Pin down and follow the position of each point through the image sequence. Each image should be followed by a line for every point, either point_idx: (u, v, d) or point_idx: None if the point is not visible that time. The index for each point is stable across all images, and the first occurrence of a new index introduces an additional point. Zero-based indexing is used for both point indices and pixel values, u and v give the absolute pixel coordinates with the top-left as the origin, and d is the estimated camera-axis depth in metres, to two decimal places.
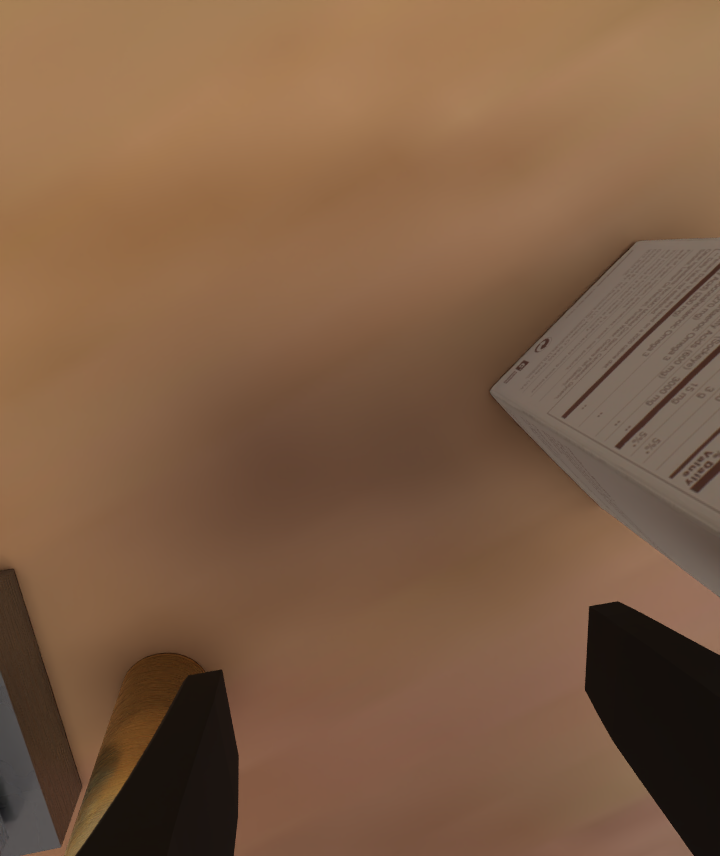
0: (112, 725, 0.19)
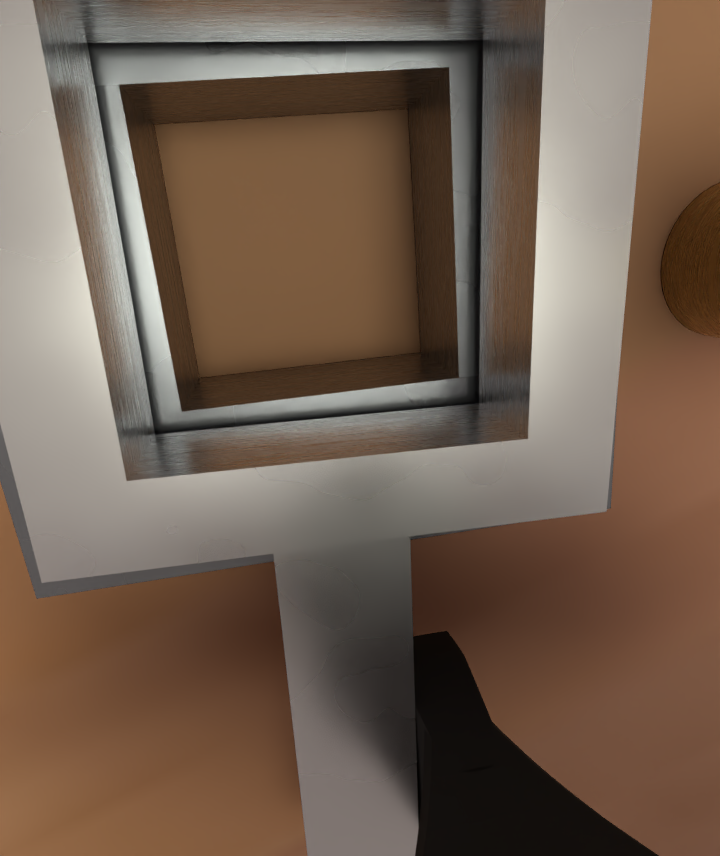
0: None
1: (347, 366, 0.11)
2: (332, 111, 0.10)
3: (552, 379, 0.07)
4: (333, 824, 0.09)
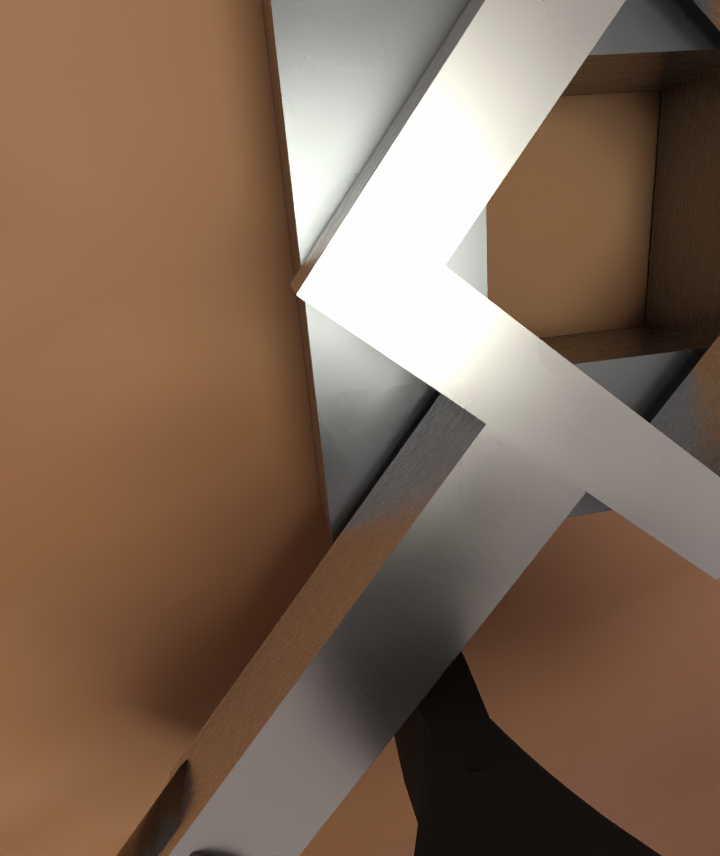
0: None
1: (588, 338, 0.11)
2: (597, 91, 0.10)
3: None
4: (304, 720, 0.08)
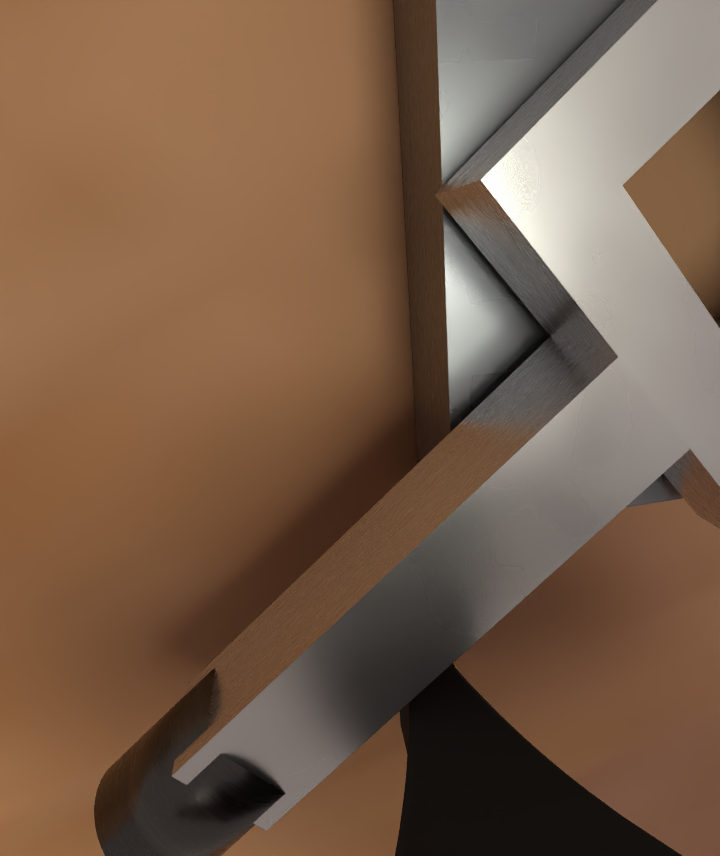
0: None
1: None
2: None
3: None
4: (368, 631, 0.08)
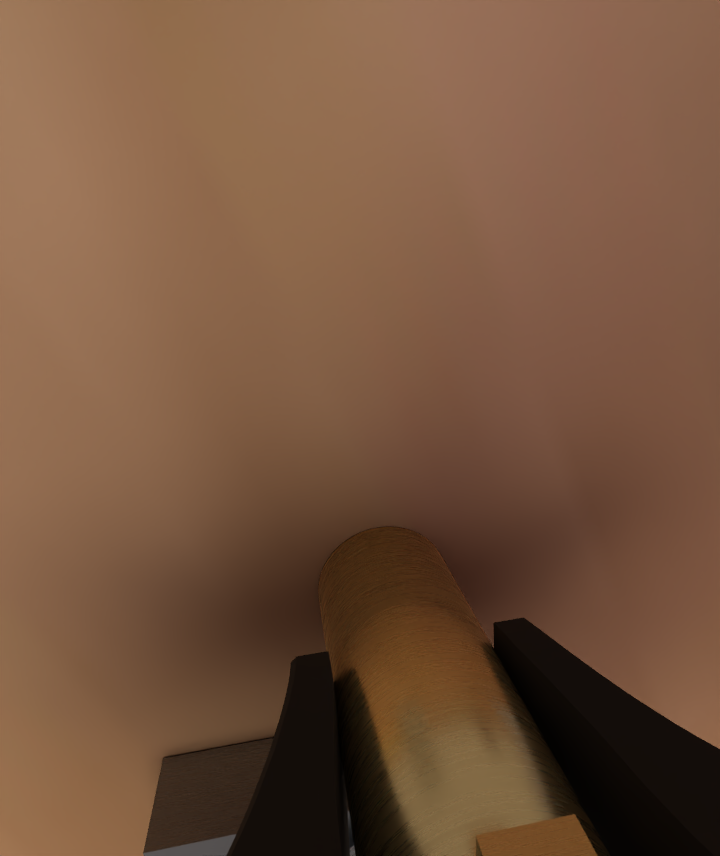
0: None
1: None
2: None
3: None
4: None
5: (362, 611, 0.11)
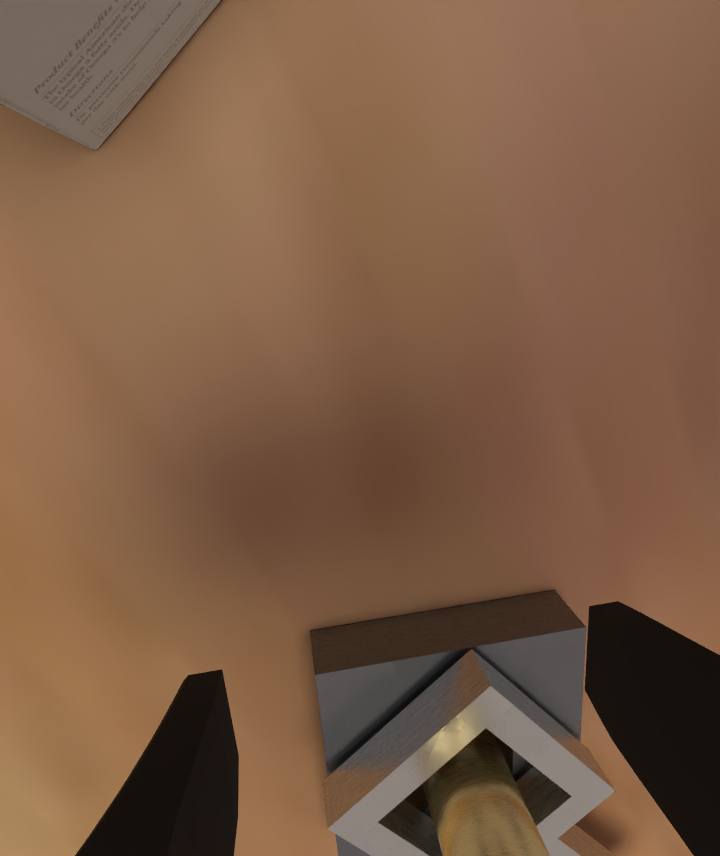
0: None
1: None
2: None
3: (565, 781, 0.20)
4: None
5: None
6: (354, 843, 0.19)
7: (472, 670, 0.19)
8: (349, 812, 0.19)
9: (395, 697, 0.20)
